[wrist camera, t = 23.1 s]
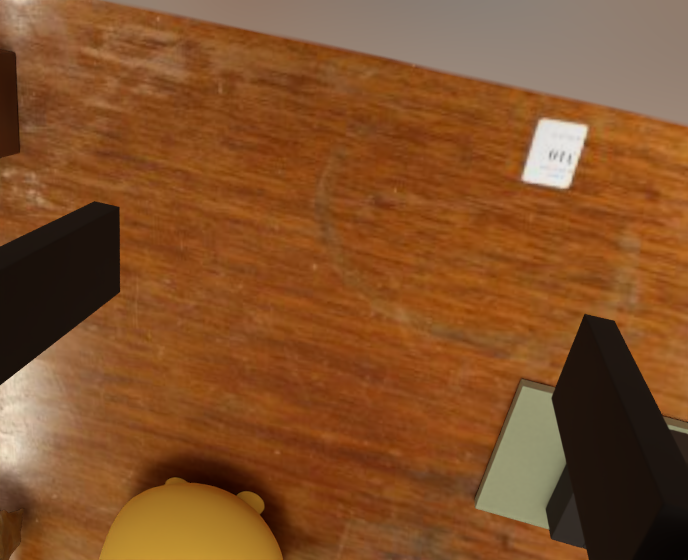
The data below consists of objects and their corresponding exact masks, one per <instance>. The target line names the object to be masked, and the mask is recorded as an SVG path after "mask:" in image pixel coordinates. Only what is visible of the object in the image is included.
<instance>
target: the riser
mask: <svg viewBox="0 0 688 560" xmlns="http://www.w3.org/2000/svg"><path fill="white" fill-rule="evenodd" d="M17 153H19V135H18V113H17V90H16V68H15V53H13V52H9V51H5V50H1V49H0V158H1V157H5V156H9V155H13V154H17Z"/></svg>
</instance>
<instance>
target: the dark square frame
mask: <svg viewBox="0 0 688 560" xmlns="http://www.w3.org/2000/svg"><path fill="white" fill-rule="evenodd" d="M546 515H547V520H548V526H549V531H550V537H551V539H552V540H556V541H559V542H563V543H566V544H570V545H573V546H577V547H580V548H582V547H583V548H584V549H586V545H585V540H584V536H583V532H582V528H581V523H580V519H579V515H578V510H577V506H576V502H575V498H574V493H573V489H572V485H571V481H570V476H569V472H568V468H567V463H566V466H565V468H564V470H563V472H562V474H561V476H560V479H559V481H558V483H557V485H556V487H555V489H554V492H553V494H552V496H551V498H550V500H549V502H548V505H547V507H546Z"/></svg>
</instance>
